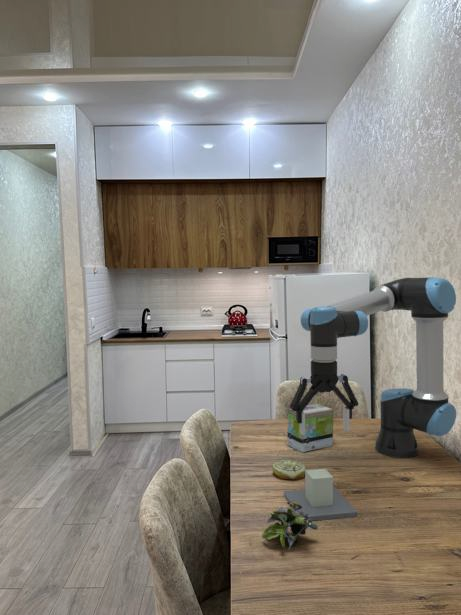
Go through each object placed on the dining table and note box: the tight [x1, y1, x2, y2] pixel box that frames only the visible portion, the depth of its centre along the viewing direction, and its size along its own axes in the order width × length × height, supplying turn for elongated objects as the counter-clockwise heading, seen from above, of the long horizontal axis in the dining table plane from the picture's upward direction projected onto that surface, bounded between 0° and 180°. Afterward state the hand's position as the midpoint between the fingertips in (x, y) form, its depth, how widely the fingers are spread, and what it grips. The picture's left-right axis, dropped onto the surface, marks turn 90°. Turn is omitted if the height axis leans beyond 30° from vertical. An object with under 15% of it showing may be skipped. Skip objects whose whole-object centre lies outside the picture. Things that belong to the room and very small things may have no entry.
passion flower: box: [261, 501, 319, 553], centre depth 115 cm, size 11×11×12 cm
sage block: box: [304, 468, 334, 507], centre depth 134 cm, size 6×6×8 cm
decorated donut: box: [272, 459, 307, 481], centre depth 156 cm, size 10×11×4 cm
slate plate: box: [283, 486, 358, 522], centre depth 134 cm, size 16×16×1 cm
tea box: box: [286, 403, 334, 453], centre depth 182 cm, size 15×10×15 cm, turn 120°
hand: (324, 431), depth 138 cm, fingers open, 13 cm apart
